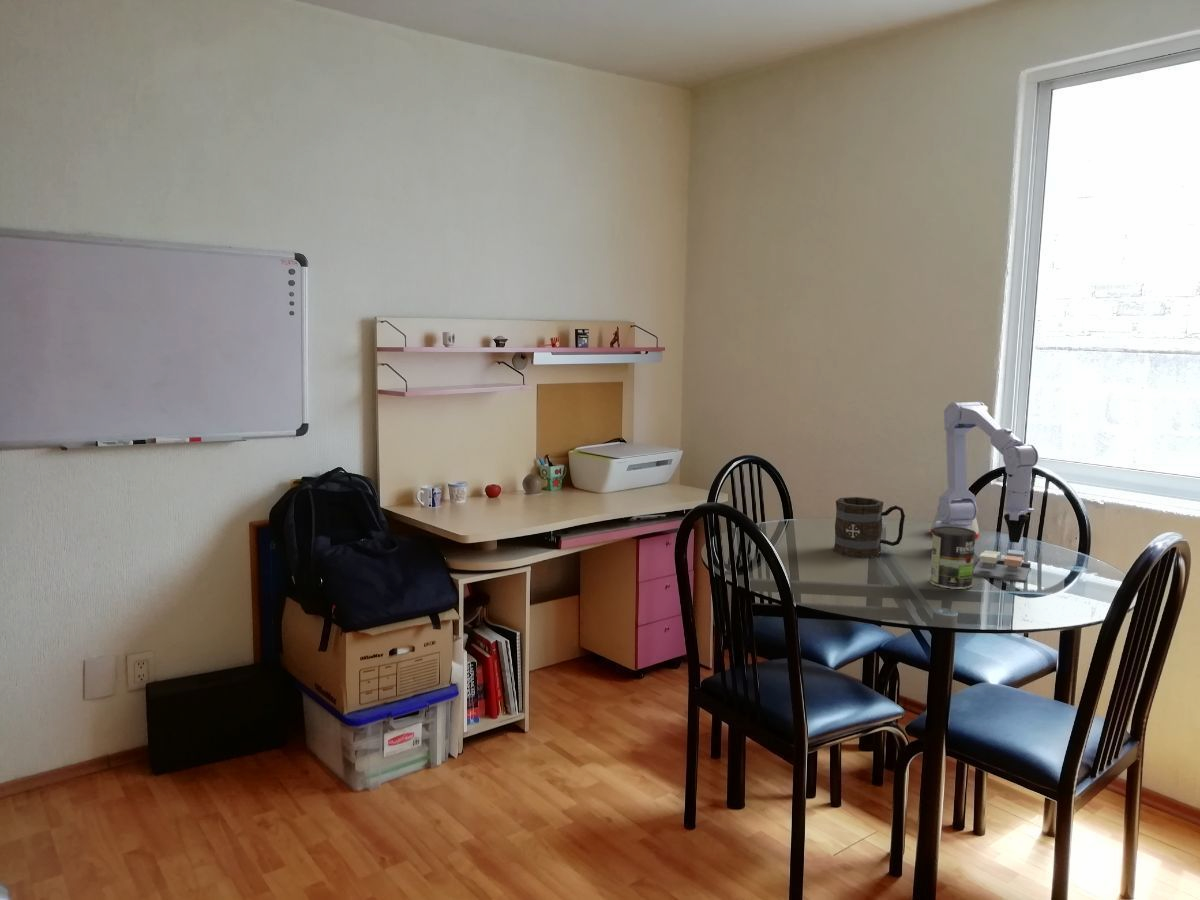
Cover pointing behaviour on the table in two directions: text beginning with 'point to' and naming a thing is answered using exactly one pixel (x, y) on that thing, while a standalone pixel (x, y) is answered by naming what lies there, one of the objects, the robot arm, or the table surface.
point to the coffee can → (952, 557)
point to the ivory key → (988, 559)
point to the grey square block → (1016, 553)
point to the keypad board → (1002, 571)
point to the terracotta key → (1012, 562)
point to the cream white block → (993, 553)
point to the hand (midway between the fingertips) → (1014, 541)
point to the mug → (861, 526)
